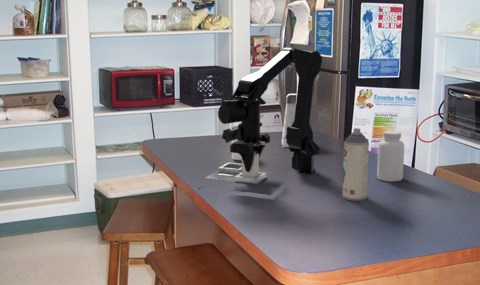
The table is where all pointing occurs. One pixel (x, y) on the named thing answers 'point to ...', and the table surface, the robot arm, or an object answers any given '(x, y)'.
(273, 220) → the table surface
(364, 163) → the aerosol can
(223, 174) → the panel
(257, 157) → the plug
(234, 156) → the jar
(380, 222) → the table surface
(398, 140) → the pill bottle
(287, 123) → the grater
